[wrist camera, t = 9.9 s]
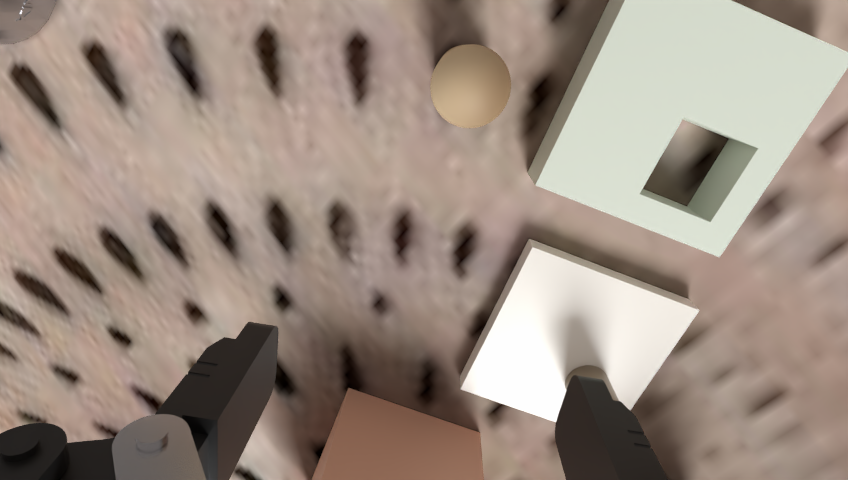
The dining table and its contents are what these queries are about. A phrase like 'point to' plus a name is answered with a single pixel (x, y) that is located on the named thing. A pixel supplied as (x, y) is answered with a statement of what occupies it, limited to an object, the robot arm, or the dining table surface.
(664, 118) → the peg board
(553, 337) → the board
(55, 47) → the dining table surface
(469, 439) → the peach stamp with handle
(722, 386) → the dining table surface
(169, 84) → the dining table surface
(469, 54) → the peg
